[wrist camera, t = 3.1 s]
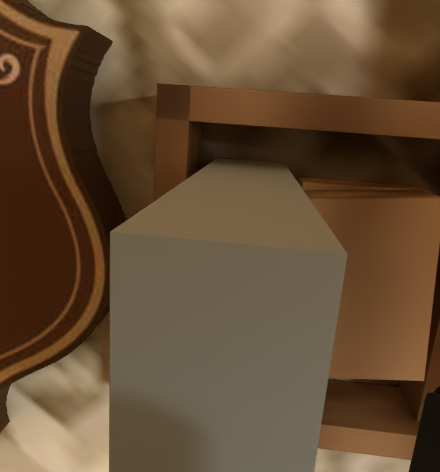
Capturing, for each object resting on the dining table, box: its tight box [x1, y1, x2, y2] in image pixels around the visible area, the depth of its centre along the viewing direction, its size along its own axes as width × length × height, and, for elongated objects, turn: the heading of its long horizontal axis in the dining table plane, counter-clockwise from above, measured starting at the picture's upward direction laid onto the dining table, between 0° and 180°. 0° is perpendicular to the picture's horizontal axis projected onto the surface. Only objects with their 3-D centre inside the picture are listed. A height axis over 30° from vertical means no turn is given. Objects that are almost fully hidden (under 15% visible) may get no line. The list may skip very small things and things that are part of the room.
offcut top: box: [304, 189, 440, 381], centre depth 17 cm, size 5×7×2 cm, turn 1°
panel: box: [109, 158, 348, 472], centre depth 13 cm, size 3×9×14 cm, turn 176°
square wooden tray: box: [154, 84, 440, 460], centre depth 18 cm, size 13×14×4 cm
